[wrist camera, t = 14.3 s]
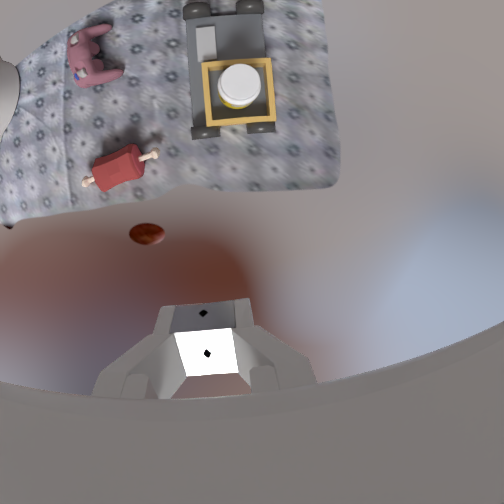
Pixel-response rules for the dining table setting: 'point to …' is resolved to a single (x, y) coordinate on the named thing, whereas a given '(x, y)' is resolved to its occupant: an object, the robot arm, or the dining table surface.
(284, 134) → the dining table surface
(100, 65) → the video game controller
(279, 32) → the dining table surface
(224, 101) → the supplement bottle
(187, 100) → the dining table surface
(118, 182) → the meat
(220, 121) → the chassis
